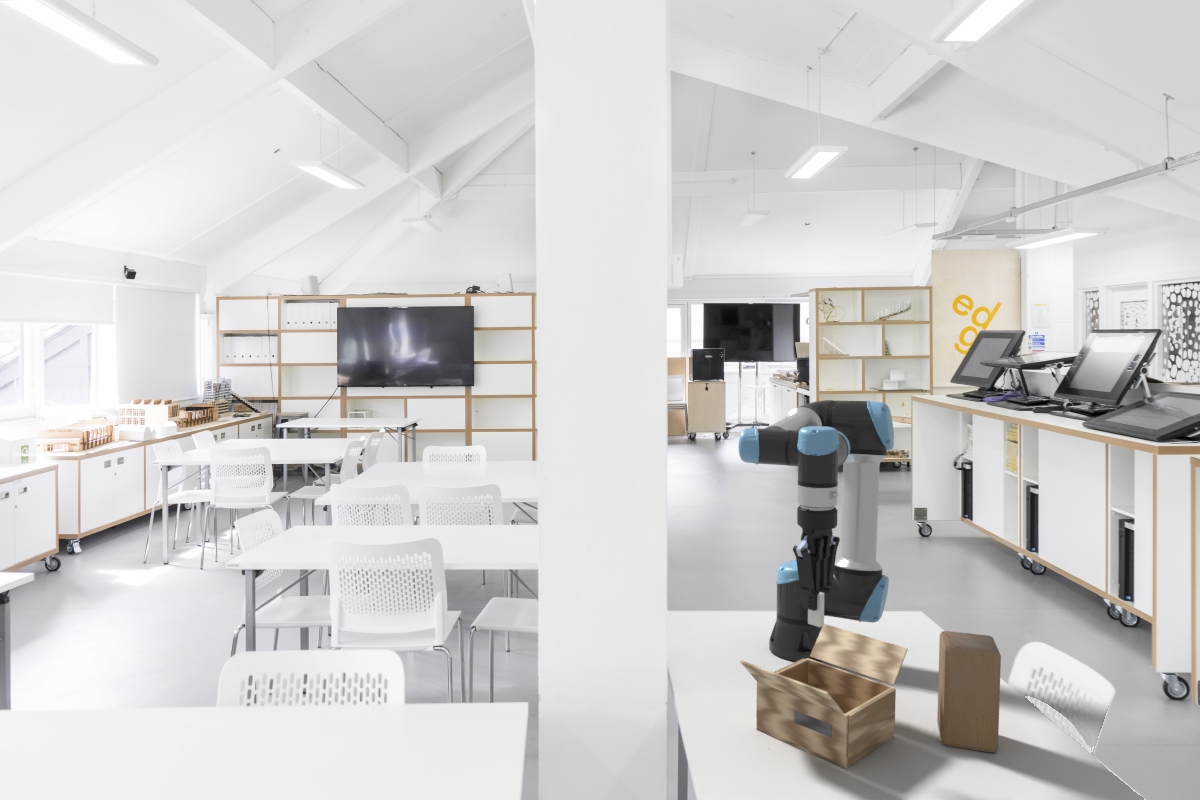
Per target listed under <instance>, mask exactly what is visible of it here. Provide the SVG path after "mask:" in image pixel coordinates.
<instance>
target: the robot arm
mask: <svg viewBox="0 0 1200 800" xmlns="http://www.w3.org/2000/svg"><path fill="white" fill-rule="evenodd" d="M894 438H895V435H894V425H893V418H892V413H891V410H890V407H889V405H887V404H886V403H885V402H882V401H871V400H830V399H825V400H817V401H816V400H815V401H814V402H809V403H805V404H802V405H799V406H798V407H795V408H793V409H791V410H789V411H788V412H787V414H786V415H785V417H784V418H783V419H781V420H778V421H777V422H775V423H773V424H770V425H769V426H767V427H765V428H757V427H754V428H752V427H751V428H744V429H743V430H741V433H740V434H739V438H738V455H739V458H740V460H741V461H742V462H743V463H747V464H748V463H749V464H755V465H759V464H760V465H773V466H789V467H797V490H796V491H797V495H796V497H797V498H796V499H797V501H796V503H797V505H799V506H797V512H796V513H797V515H796V520H797V521H796V523H797V525H798V526H799V527H800V528H801V529H802V530H801V531H802V532H801V535H800V541H801V542H800V543H799V545H794V546H793V548H792V551H793V555H794V556H795V559H792V560H787V561H785V562H783V563H781V564H780V565H779V566H778V569H777V575H776V576H777V577H776V580H775V582H776V620H775V623H774V625H773V629H772V632H771V634H770V637H769V639H768V640H769V643H768V644H769V645H768V646H769V647H768V649H769V651H770V652H771V653H772V654H773V655H775V656H776V657H779V658H781V659H784V660H788V661H793V662H797V661H799V660H801V659H803V658H805V659H807V658H809V659H812V660H815V661H818V662H821V660H818V659H815V658H812V657H810V654H811V652H812V650H813V647H814V645H815V643H816V640H817V638H818V636H819V633H820V631H821V629H822V627H823V626H824V624H825V617H831V618H838V619H843V620H844V619H845V620H851V621H858V622H859V623H861V622H864V623H872V624H873V623H877V622H879V621H880V619H881V618H882V616H883V614H884V611H885V606H886V603H887V602H886V601H887V598H888V597H887V596H888V592H889V581H890V578H889V577H888V576H887V575H885V574H883V566H882V565H881V564H880V563H879V562H878V560H877V542H878V518H879V516H878V513H879V495H880V494H879V491H880V488H879V487H880V466H881V462H883V460H884V459H886V458H887V456H888V455H887V454H888V453H887V451H890V450H892V449H894V445H895V439H894ZM840 466H842V487H841V488H842V490H841V512H840V513H841V515H840V518H841V519H840V537H838V536H835V535H833V534H834V533H833V529H836V528H837V526H838V509H837V508H836V506H837V505H838V496H839V493H838V484H839V482H838V478H839V477H838V475H839V467H840ZM838 547H839V557H838V558H836V557H837V550H838Z"/></svg>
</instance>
